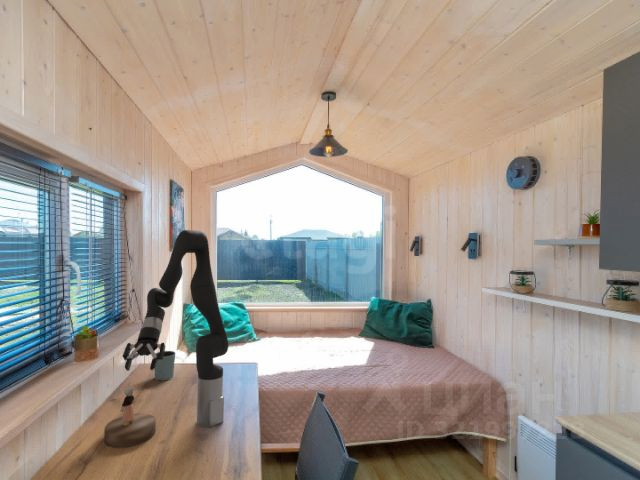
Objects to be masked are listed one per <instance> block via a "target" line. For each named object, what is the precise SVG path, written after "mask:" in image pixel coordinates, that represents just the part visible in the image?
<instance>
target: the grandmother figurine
mask: <svg viewBox="0 0 640 480" xmlns="http://www.w3.org/2000/svg"><path fill="white" fill-rule="evenodd" d="M134 390H135V387H134V386H132V385H128V386H126V387H125V388H124V389H123V393H124V395H125V397H124V399H123V402H122V404H121V408H120V413H122V414H123V415H122V416H123V423H122V425H124V426H127V425H129V424H130V422H132V421H133V420H134V414H135V411H134V404H135V402H136V401H135V396H134V395H133V393H134Z"/></svg>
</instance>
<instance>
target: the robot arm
mask: <svg viewBox="0 0 640 480" xmlns="http://www.w3.org/2000/svg"><path fill="white" fill-rule="evenodd" d="M208 240H209V239H208V237H207V235H206V233H205V232H204V231H202V230H191V229H184V230H181V231H180V232H179V233H178V235H177V237H176V239H175V241H174V244H173V248H172V252H171V254H170V257H169V261H168V263H167V266H166V268H165V270H164V272H163V275H162V276H161V278H160V280H159V282H158V286H159V288H157V287H154V288H153V287H152V288H151V289H150V290H149V291H148V293H147V296H146V303H147V304H146V306H147V307H146V308H147V309H146V312H145V317H144V320H143V322H142V325H141V328H140V331H139V334H138V337H137V340H136V342H135V343H133V344H132V343H131V342H128V343H127V344H126V347H125V348H124V351H123V352H122V353H123V354H122V357H123V358H122V359H123V360H124V361H125V364H124V368H125V370H126V371H127V372H129V371H130V369H131V366H132V362H133V360H135V359H136V358H138V357H142V356H146V357H147V356H150V355H151V357H152V359H151V362H150V367H149V369H150V371H154V369H155V367H156V364H157V361H158V360H162V359H163V357H164V352H165V351H166V345H165V343H164V342H161V343H159V340H160V336H161V333H162V329H163V328H162V327H163V323H164V319H165V315H166V311H165V309H166V308H170V307H171V306H172V304H173V301H174V297H175V291H176V288H177V287H178V284H179V283H180V281H181V279H182V276H183V266H182V265H183V264H182V261H183V258H184V257H185V255H186V254H194V255H195V264H196V265H195V270H194V273H193V275H192V278H191V281H190V287H189V288H190V289H189V290H190V295H191V298H192V303H193V305H194V306H195V308H196V309H197V311H199V313H200V314H201V315H202V317H204V319H205V320H206V322H207V324H208V328H209V331H210V333H207V334H203V335H200V336H199V337H198V338H197V340H196V344H195V362H196V364H195V365H196V371H197V396H196V397H197V401H196V424H197V425H198V426H199V427H206V428H213V427H215V426H217V425H220V424H221V423H224V416H225V415H224V413H225V412H224V411H225V410H224V407H225V397H224V396H223V389H224V384H223V383H224V368H223V366H221V365H218V364H214V359H215V358H218V357H222V356H224V355H225V354H227V352H228V350H229V339H228V336H227V331H226V328H225V326H224V323H223V319H222V315H221V310H220V307H219V302H218V295H217V292H216V286H215V282H214V277H213V271H212V266H211V265H212V264H211V259H210V258H211V257H210V248H209V247H210V246H209V241H208ZM164 308H165V309H164ZM157 349H159V351H158V352H159V355H157V356H156V354H155V353H156V352H155V351H156V350H157ZM131 351H132V352H131Z"/></svg>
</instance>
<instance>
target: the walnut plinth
mask: <svg viewBox="0 0 640 480" xmlns="http://www.w3.org/2000/svg"><path fill="white" fill-rule="evenodd" d="M122 423H123V415H122V416H119V417H116V418H114V419H112V420H111V421H109V422H108V423H106V425H105V426H104V430H103V431H104V432H103V433H104V435H103V437H104V438H103V443H104V445H106V446H107V447H111V448H114V449H123V448H124V449H126V448H131V447H135V446H138V445H141V444H143V442H144V443H146V442H147V441H149V440H151V439H152V438H153V437H154V436H155V434H156V425H157V419H156V416H154V415H152V414H150V413H144V412H143V413H141V412H140V413H138V412H137V413H134V420H133V421H132V422H130V424H129V425H127V426H124V425H122ZM145 441H146V442H145Z"/></svg>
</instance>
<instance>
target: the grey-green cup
mask: <svg viewBox="0 0 640 480" xmlns="http://www.w3.org/2000/svg"><path fill="white" fill-rule="evenodd" d="M159 352H160V351H158V352H155V354H156V356H157V355H159ZM175 360H176V352H175V351H173V350H165V352H164V357H163V359H162V360H158V361H157V364H156V367H155V369H153V371H154V380H156V381H158V380H161V381H162V382H164V381H163V380H165V381H168V380H169V381H170V380H171V378H172V379H173V378H174V372H175ZM161 381H160V382H161Z"/></svg>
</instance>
